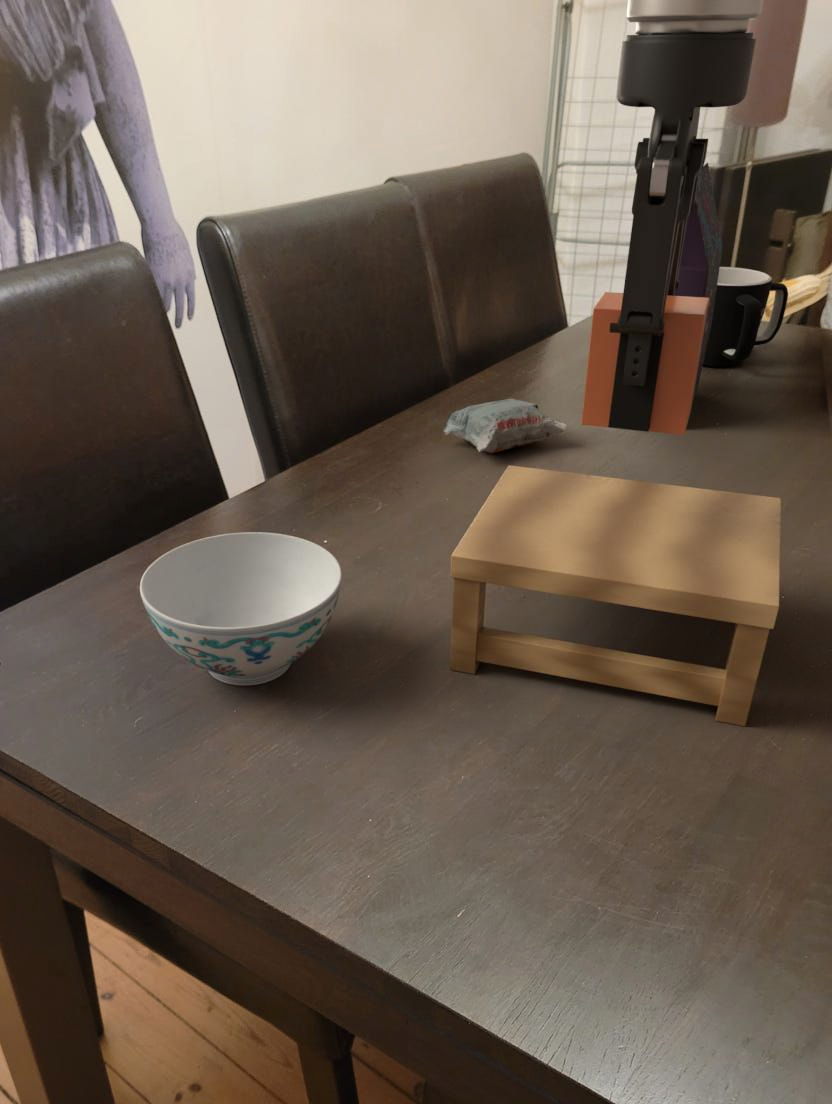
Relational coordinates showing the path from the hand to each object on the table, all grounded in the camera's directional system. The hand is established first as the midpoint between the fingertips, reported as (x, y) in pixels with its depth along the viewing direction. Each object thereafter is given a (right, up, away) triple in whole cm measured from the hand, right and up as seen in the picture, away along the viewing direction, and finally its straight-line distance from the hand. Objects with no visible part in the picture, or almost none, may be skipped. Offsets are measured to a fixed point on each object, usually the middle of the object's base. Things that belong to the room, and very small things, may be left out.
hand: (634, 413), depth 68 cm
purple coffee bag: (+20, +14, +56) cm, 61 cm away
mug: (+33, +25, +74) cm, 85 cm away
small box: (0, 0, 0) cm, 0 cm away
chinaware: (-28, -18, +7) cm, 34 cm away
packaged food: (-2, +7, +46) cm, 46 cm away
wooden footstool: (+1, -16, +9) cm, 18 cm away
